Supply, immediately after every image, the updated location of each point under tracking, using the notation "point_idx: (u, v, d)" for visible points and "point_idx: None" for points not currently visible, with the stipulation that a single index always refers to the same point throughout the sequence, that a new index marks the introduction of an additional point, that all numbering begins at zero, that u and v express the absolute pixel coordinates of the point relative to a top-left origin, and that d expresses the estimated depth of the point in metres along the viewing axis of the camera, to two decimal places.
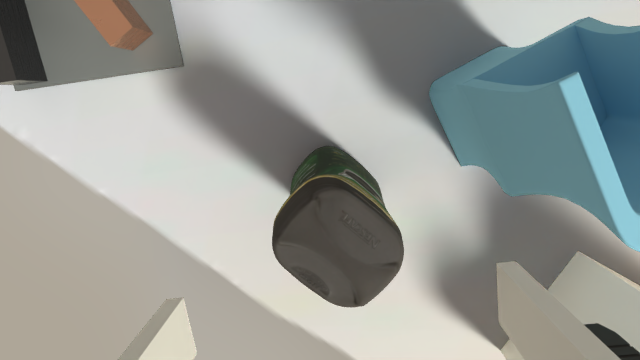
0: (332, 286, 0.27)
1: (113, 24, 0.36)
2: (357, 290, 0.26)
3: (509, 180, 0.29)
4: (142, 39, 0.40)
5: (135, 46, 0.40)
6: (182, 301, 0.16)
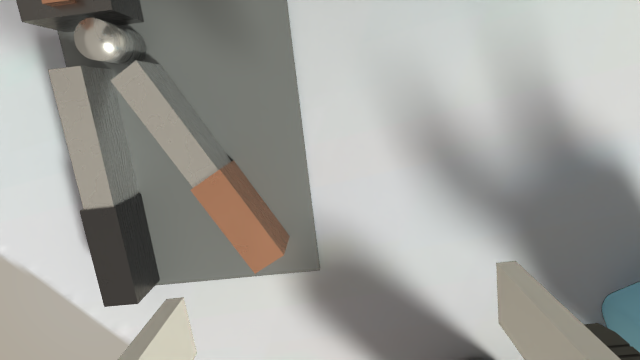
0: None
1: (261, 251, 0.30)
2: None
3: None
4: None
5: None
6: (182, 301, 0.16)
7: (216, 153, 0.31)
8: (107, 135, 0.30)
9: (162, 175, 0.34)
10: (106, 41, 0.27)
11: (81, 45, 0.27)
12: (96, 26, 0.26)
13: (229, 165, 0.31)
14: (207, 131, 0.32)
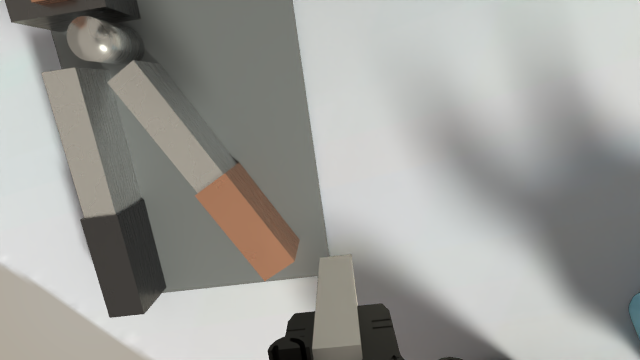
0: None
1: (271, 257, 0.29)
2: None
3: None
4: None
5: None
6: None
7: (220, 155, 0.29)
8: (106, 140, 0.29)
9: (165, 179, 0.32)
10: (101, 40, 0.25)
11: (74, 45, 0.25)
12: (90, 25, 0.25)
13: (235, 168, 0.30)
14: (211, 132, 0.31)
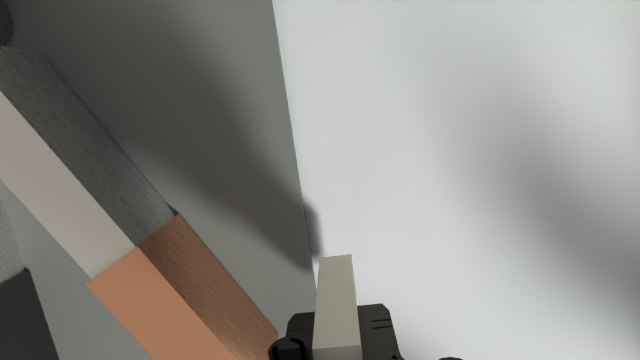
0: None
1: None
2: None
3: None
4: None
5: None
6: None
7: (140, 208, 0.17)
8: None
9: None
10: None
11: None
12: None
13: (166, 228, 0.18)
14: (128, 166, 0.18)
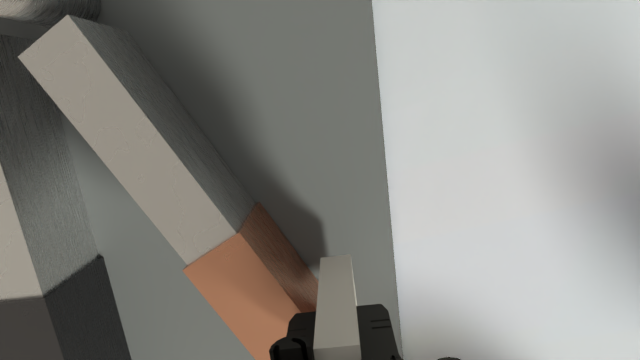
0: None
1: None
2: None
3: None
4: None
5: None
6: None
7: (230, 195, 0.17)
8: (29, 163, 0.16)
9: (138, 225, 0.20)
10: None
11: None
12: None
13: (254, 215, 0.17)
14: (213, 152, 0.18)
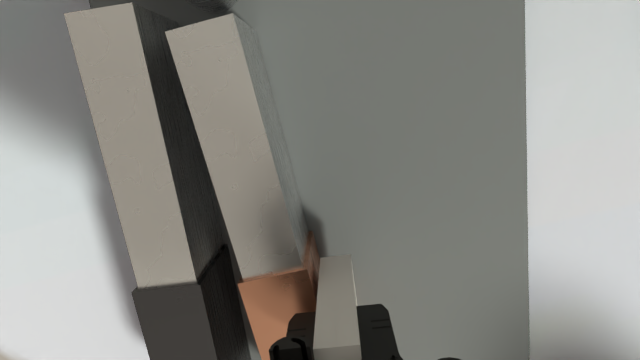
0: None
1: None
2: None
3: None
4: None
5: None
6: None
7: (299, 222, 0.17)
8: (180, 146, 0.16)
9: None
10: None
11: None
12: None
13: (311, 248, 0.17)
14: (291, 173, 0.18)
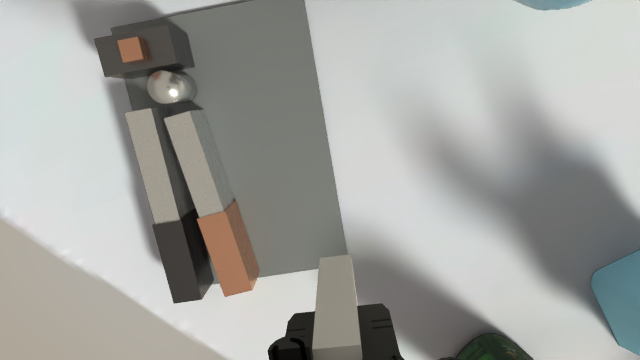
0: None
1: (236, 281, 0.38)
2: None
3: None
4: None
5: None
6: None
7: (225, 194, 0.38)
8: (171, 162, 0.37)
9: None
10: (172, 92, 0.33)
11: (151, 88, 0.33)
12: (168, 79, 0.33)
13: (232, 206, 0.39)
14: (223, 172, 0.39)
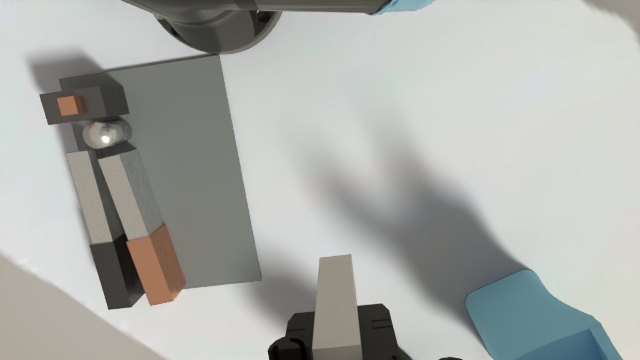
0: None
1: (159, 293, 0.45)
2: None
3: None
4: None
5: None
6: None
7: (153, 220, 0.45)
8: (107, 193, 0.44)
9: None
10: (103, 140, 0.41)
11: (86, 136, 0.41)
12: (100, 129, 0.40)
13: (159, 230, 0.46)
14: (153, 201, 0.47)
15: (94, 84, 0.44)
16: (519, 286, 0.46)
